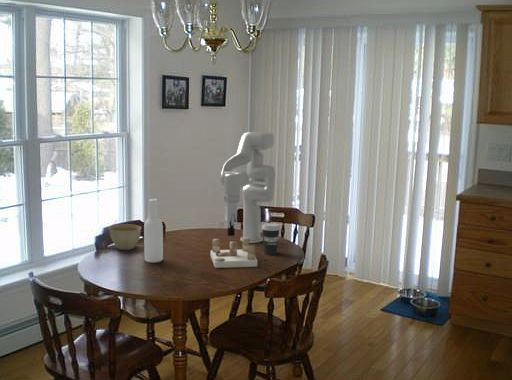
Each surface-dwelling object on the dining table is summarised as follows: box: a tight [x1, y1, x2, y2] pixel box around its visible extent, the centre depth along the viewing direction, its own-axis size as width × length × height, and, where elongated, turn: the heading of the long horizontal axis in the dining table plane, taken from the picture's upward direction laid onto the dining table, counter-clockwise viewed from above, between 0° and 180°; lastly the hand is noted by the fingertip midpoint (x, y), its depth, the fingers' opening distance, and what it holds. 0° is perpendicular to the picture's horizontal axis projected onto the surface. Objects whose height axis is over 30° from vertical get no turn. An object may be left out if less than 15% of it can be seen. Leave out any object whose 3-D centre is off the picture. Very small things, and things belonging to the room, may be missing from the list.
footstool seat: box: [210, 248, 258, 269], centre depth 286 cm, size 20×20×3 cm
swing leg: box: [216, 240, 238, 256], centre depth 284 cm, size 10×4×6 cm, turn 101°
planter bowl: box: [109, 223, 142, 251], centre depth 306 cm, size 16×16×11 cm
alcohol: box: [143, 198, 164, 264], centre depth 282 cm, size 9×9×30 cm
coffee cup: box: [261, 222, 281, 256], centre depth 300 cm, size 10×10×15 cm
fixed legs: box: [212, 238, 256, 260], centre depth 285 cm, size 19×19×6 cm
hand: (231, 235), depth 290 cm, fingers closed
